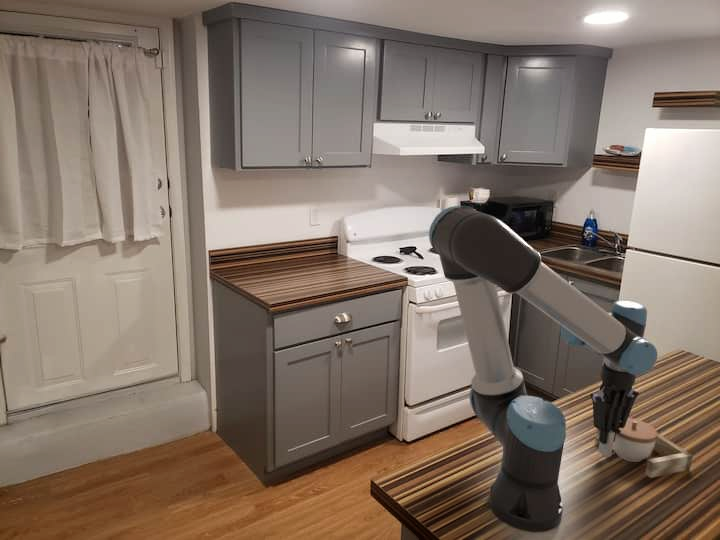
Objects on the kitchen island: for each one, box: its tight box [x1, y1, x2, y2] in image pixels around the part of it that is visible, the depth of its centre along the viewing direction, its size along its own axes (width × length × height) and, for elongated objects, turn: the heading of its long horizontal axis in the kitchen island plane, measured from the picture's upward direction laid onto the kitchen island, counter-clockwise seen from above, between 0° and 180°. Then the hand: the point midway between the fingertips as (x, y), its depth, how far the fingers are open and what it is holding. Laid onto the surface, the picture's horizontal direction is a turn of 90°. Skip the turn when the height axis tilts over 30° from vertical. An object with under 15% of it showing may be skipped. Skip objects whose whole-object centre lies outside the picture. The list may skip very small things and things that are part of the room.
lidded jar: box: [612, 417, 659, 463], centre depth 142 cm, size 11×11×9 cm
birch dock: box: [595, 429, 693, 479], centre depth 143 cm, size 12×18×4 cm
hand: (604, 453), depth 139 cm, fingers closed
